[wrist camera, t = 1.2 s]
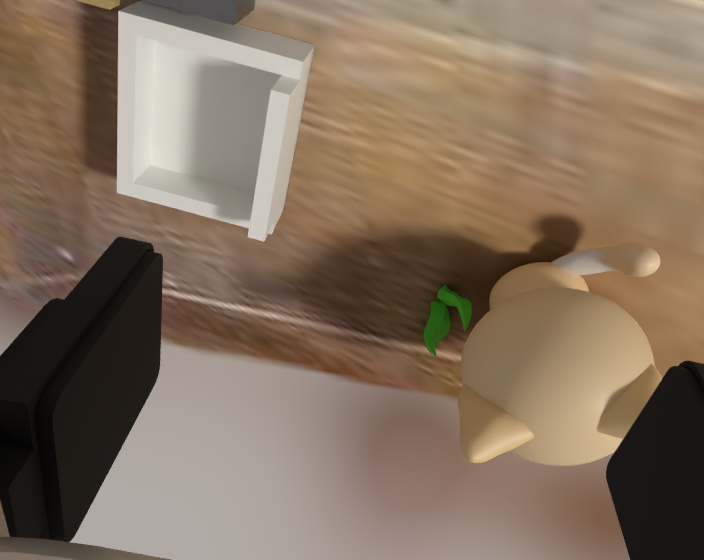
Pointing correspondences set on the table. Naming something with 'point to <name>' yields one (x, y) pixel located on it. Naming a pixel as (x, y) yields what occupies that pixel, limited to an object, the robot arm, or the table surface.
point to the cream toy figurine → (551, 361)
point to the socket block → (212, 8)
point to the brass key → (102, 3)
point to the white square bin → (208, 114)
